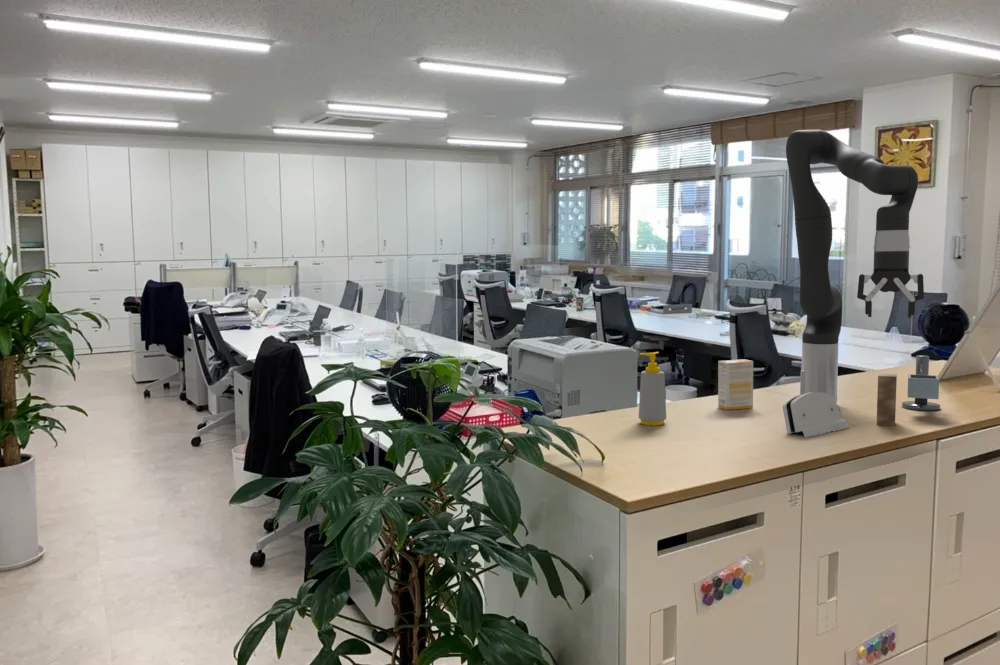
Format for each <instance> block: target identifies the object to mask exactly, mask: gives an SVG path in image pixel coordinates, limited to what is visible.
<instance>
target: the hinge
mask: <svg viewBox="0 0 1000 665" xmlns="http://www.w3.org/2000/svg"><path fill="white" fill-rule="evenodd" d="M782 410H783V411H782V412H783V417H784V423H785V428H786V433H787V434H788V435H791V434H795V433H800V432H802V433H803V436H804V438H810V437H814V436H819V435H822V434H821V433H824V434H827V433H826V432H828V433H831V432H830V431H833V432H836V431H835V430H838V431H841V429H842V430H846V429H845V428H847V429H850V428H849V424H848V420H846V419H844V418H843V417H842V415H841V412H840V410H839V407H838V403H837V404H836V402H835V399H834V397H833V396H832V395H830V394H826V393H821V392H811V393H805V394H801V395H800V394H799V395H795V396H794V397H792V398H790V399H789V400H787V401H786V402H785V403H784V404H783V405H782ZM818 434H819V435H818Z"/></svg>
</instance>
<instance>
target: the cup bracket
mask: <svg viewBox="0 0 1000 665" xmlns="http://www.w3.org/2000/svg"><path fill="white" fill-rule="evenodd" d="M915 358H916V359H915V374H912V373H911V374H909V373H908V374H907V392H906V393H907V394H906V396H907V398H910V399H914V400H907V401H903V402H901V408H903V409H907V410H911V411H919V412H937V411H940V410H941V404H939V403H937V402H931V401H928V400H939V394H940V377H939V375H931V374H929V370H930V368H929V366H930V356H929V355H923V354H921V355H916V356H915Z"/></svg>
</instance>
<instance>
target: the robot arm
mask: <svg viewBox="0 0 1000 665" xmlns="http://www.w3.org/2000/svg"><path fill="white" fill-rule="evenodd" d="M785 144H786V145H785V157H786V161H787V162H786V163H787V167H788V173H789V178H790V184H791V190H792V199H793V210H794V212H793V213H794V225H795V226H794V228H795V236H796V242H797V253H798V254H797V255H798V261H799V275H800V276H799V305H800V309H801V310H802V312H803V314H805V315H806V324H805V328H804V329H803V332H802V337H801V338H802V339H801V340H802V342H801V370H800V382H799V383H800V385H799V386H800V388H799V395H801V394H805V393H811V392H821V393H826V394H830V395H832V396H833V397H834V399H835V402H836V404H837V405H838V378H839V377H838V371H839V370H838V368H839V340H840V338H839V337H840V333H841V330H842V320H843V319H842V316H843V299H842V295H841V293H840V291H839V290H838V288H836V287H835V286H833V285H831V280H830V274H829V273H830V272H829V259H830V253H831V250H832V249H831V248H832V243H833V222H832V214H831V208H830V207H829V204H828V202H827V201H826V199H825V198H824V197H823V195H822V194H821V192H820V191H819V190H818V188H817V186H816V184H815V183H814V180H813V175H812V169H811V165H818V164H828V165H831V166H836V167H837V169H838V171H839V172H840V174H842V175H843V176H844V177H846V178H848V179H851V180H852V181H855V182H857V183H860V184H862V185H863V186H864V187H865V188H867V190H868V191H870V192H872V193H874V194H876V195H881V196H891V197H890V200H889V203H888V204H887V205H884V206H880V207H878V209H877V210H876V215H875V216H876V217H875V218H876V220H875V235H874V242H873V243H874V244H873V272H872V274H864V273H861V274H859V276H858V283H857V294H856V295H857V296H856V297H857V299H858V300H861V301H864V303H865V305H864V306H865V307H864V308H865V309H864V311H865V312H864V313H865V315H866V316H868V317H867V318H872V315H873V314H872V313H873V310H872V309H873V301H872V299H873V298H874V297H875V296H876V295H877V294H878V292H881V293H888V292H892V293H899V292H902V294H904V296H905V297H906V298H907V299H908V304H907V318H908V319H911V318H912V316H914V315H915V313H916V312H915V311H916V302H917V301H920V300H923V299H924V298H925V290H924V289H925V288H924V274H923V273H918V274H910V272H909V269H910V268H909V266H910V248H911V246H910V239H911V238H910V233H909V232H910V226H909V225H910V213H911V209H912V207H913V204H914V200H915V197H916V193H917V190H918V186H919V176H918V173H917V171H916V170H915V168H914V167H912V166H910V165H907V164H906V165H905V164H903V165H902V164H885V162H884V161H883V160H882V159H881V158H879V157H877V156H875V155H873V154H870V153H868V152H864V151H862V150H859V149H856V148H854V147H852V146H850V145H849V144H846V143H845V142H843V141H841V140H840V139H838V138H837V137H836V136H834V135H833V134H832V133H829V131H826V130H824V129H798V130H794V131H792V132H791V133H790V134H789V135H788V137H787V139H786V143H785ZM869 280H871V281H872V283H873V284H874V285H875V286H874V288H872V290H871V291H870V292H869V293H868V295H866V294H864V292H865V291H864V290H865V284H867V283H869ZM910 280H912V281H913V283H914V284H917V294H915V295H914V294H912V293H911V291H910V290H909V288H908V287H907V284H908V283H909V282H910Z"/></svg>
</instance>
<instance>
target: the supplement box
mask: <svg viewBox="0 0 1000 665" xmlns="http://www.w3.org/2000/svg"><path fill="white" fill-rule="evenodd" d="M717 364H718V365H717V367H718V368H717V369H718V371H717V372H718V373H717V374H718V375H717V376H718V377H717V378H718V379H717V381H718V382H717V384H718V385H717V390H718V392H717V394H718V395H717V399H718V400H717V401H718V402H717V403H718V404H717V407H718V408H720V409H723V410H726V411H730V410H741V409H743V410H744V409H753V407H754V360H749V359H745V358H744V359H743V358H742V359H741V358H740V359H729V360H726V359H725V360H718V363H717Z"/></svg>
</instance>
